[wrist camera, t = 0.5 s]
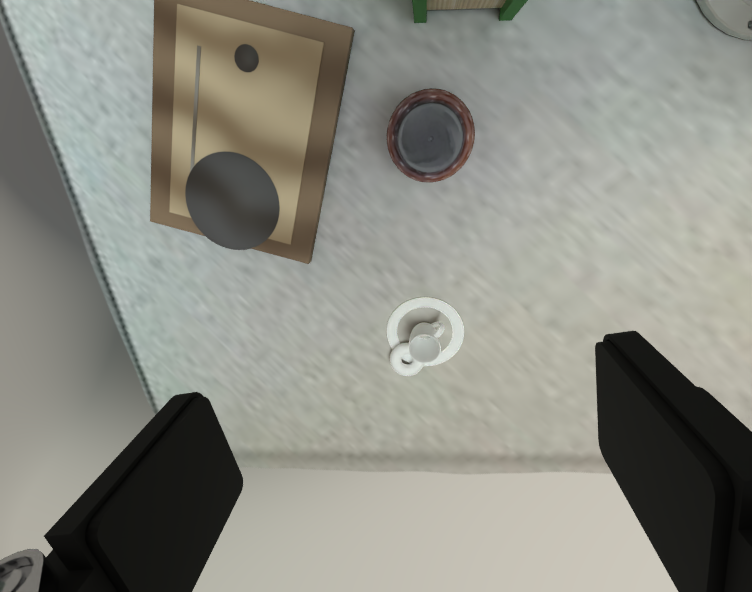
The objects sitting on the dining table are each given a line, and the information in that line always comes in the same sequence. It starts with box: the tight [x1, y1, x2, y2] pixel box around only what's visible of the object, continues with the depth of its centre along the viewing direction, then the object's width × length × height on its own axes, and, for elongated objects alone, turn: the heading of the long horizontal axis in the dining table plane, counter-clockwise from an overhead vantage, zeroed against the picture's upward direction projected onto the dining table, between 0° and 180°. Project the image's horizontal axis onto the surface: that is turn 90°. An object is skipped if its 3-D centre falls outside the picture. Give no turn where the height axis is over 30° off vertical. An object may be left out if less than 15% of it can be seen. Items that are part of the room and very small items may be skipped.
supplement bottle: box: [387, 89, 475, 182], centre depth 30 cm, size 6×6×11 cm
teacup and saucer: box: [387, 297, 464, 376], centre depth 41 cm, size 9×8×4 cm
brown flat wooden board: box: [150, 0, 355, 264], centre depth 36 cm, size 20×16×1 cm
